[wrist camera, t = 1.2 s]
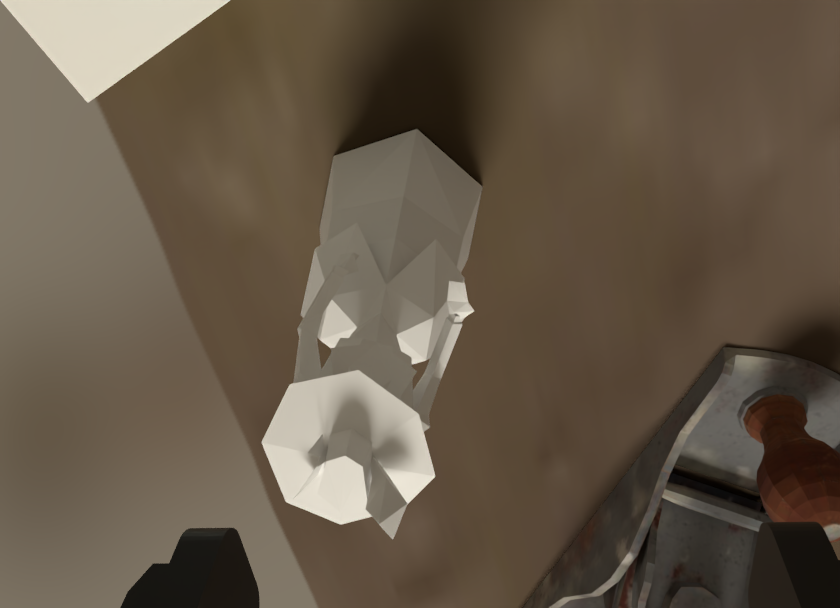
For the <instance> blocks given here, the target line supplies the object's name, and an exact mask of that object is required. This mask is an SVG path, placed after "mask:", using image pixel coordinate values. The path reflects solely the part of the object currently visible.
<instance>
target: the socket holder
mask: <svg viewBox="0 0 840 608" xmlns="http://www.w3.org/2000/svg"><path fill="white" fill-rule="evenodd" d="M0 1H1V2H2V3H3V4H4V5H5V6H6V8H7V9H8V10H9V11H10V12H11V14H12V15H13V16H14V17H15V18H16V19H17V21H18V22H19V23H20V24H21V25H22V26H23V27H24V29H25V30H26V31H27V32H28V33H29V35H30V36H31V37H32V38H33V39H34V40H35V42H36V43H37V44H38V45H39V46H40V47H41V48H42V50H43V51H44V52H45V53H46V55H47V56H48V57H49V58H50V59H51V60H52V61H53V63H54V64H55V65H56V66H57V67H58V68H59V70H60V71H61V72H62V73H63V74H64V76H65V77H66V78H67V79H68V80H69V81H70V83H71V84H72V85H73V86H74V87H75V88H76V90H77V91H78V92H79V93H80V94H81V95H82V97H83V98H84V99H85V100H86V101H87V102H90V101H91V100H92V99H94V98H95V97H97V96H98V95H99V94H101V93H102V92H104V91H105V90H106V89H108V88H109V87H111V86H112V85H113V84H115V83H116V82H117V81H119V80H120V79H122V78H123V77H124V76H126V75H127V74H129V73H130V72H131V71H133V70H134V69H136V68H137V67H138V66H140V65H141V64H143V63H144V62H145V61H147V60H148V59H149V58H151V57H152V56H154V55H155V54H156V53H158V52H159V51H161V50H162V49H163V48H165V47H166V46H168V45H169V44H170V43H172V42H173V41H174V40H176V39H177V38H179V37H180V36H181V35H183V34H184V33H186V32H187V31H188V30H190V29H191V28H193V27H194V26H195V25H197V24H198V23H199V22H201V21H202V20H204V19H205V18H206V17H208V16H209V15H211V14H212V13H213V12H215V11H216V10H218V9H219V8H220V7H222V6H223V5H224V4H226V3H227V2H229V1H230V0H0Z"/></svg>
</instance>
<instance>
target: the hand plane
mask: <svg viewBox="0 0 840 608" xmlns="http://www.w3.org/2000/svg"><path fill="white" fill-rule="evenodd" d="M675 464H676V465H678V466H681V467H684V468H687V469H690V470H693V471H696V472H699V473H702V474H705V475H707V476H710V477H713V478H716V479H719V480H722V481H725V482H728V483H731V484H734V485H736V486H739V487H742V488H745V489H748V490H751V491H754V492H757V493H760V496H761V500H762V503H763V506H764V507H763V509H762V510H761V511H760V509H761V504H762V503H759V502H756V501H753V500H750V499H747V498H744V497H741V496H739V495H736V494H733V493H730V492H727V491H724V490H721V489H718V488H715V487H712V486H709V485H706V484H703V483H700V482H697V481H694V480H691V479H688V478H685V477H682V476H680V475H677V474H674V473H671V471H672V469H673V467H674V465H675ZM763 522H818V523H819V524H820V525H821V526H822V527H823V529H824V530H825V532H826V534H827V536H828V539H829V541H830V543H831V542H836V541H838V540H840V375H839V374H837V373H835V372H833V371H831V370H829V369H827V368H825V367H823V366H820V365H818V364H816V363H814V362H812V361H808V360H805V359H801V358H798V357H795V356H791V355H787V354H782V353H776V352H770V351H765V350H756V349H744V348H730V347H723V348H722V350H721V351H720V352H719V354H718V355H717V356H716V357H715V359H714V360H713V361H712V363H711V364H710V365H709V367H708V368H707V369H706V370H705V372H704V373H703V374H702V376H701V377H700V378H699V379H698V381H697V382H696V383H695V385H694V386H693V387H692V389H691V390H690V391H689V392H688V394H687V395H686V396H685V398H684V399H683V400H682V402H681V403H680V404H679V405H678V407H677V408H676V409H675V411H674V412H673V413H672V414H671V416H670V417H669V418H668V420H667V421H666V422H665V424H664V425H663V426H662V427H661V429H660V430H659V431H658V433H657V434H656V435H655V437H654V438H653V439H652V440H651V442H650V443H649V444H648V446H647V447H646V448H645V449H644V451H643V452H642V453H641V455H640V456H639V457H638V459H637V460H636V461H635V462H634V464H633V465H632V466H631V468H630V469H629V470H628V472H627V473H626V474H625V475H624V477H623V478H622V479H621V481H620V482H619V483H618V484H617V486H616V487H615V488H614V490H613V491H612V492H611V494H610V495H609V496H608V497H607V499H606V500H605V501H604V503H603V504H602V505H601V507H600V508H599V509H598V510H597V512H596V513H595V514H594V516H593V517H592V518H591V519H590V521H589V522H588V523H587V525H586V526H585V527H584V529H583V530H582V531H581V532H580V534H579V535H578V536H577V538H576V539H575V540H574V542H573V543H572V544H571V545H570V547H569V548H568V549H567V551H566V552H565V553H564V555H563V556H562V557H561V558H560V560H559V561H558V562H557V564H556V565H555V566H554V567H553V569H552V570H551V571H550V573H549V574H548V575H547V577H546V578H545V579H544V580H543V582H542V583H541V584H540V586H539V587H538V588H537V590H536V591H535V592H534V593H533V595H532V596H531V597H530V599H529V600H528V601H527V602H526V604H525V605H524V606H523V608H749V603H748V587H749V580H750V575H751V570H752V564H753V559H754V553H755V548H756V543H757V537H758V532H759V528H760V525H761V524H762V523H763Z"/></svg>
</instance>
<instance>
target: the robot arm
mask: <svg viewBox="0 0 840 608" xmlns="http://www.w3.org/2000/svg"><path fill="white" fill-rule="evenodd" d="M748 603H749V608H840V560H838V558H837V556H836V554H835V552H834V550H833V547H832V545H831V543H830V541H829V539H828V536H827V534H826V532H825V530H824V529H823V527H822V526H821V525H820V524H819V523H818V522H763V523H762V524H761V525H760V528H759V532H758V537H757V543H756V548H755V553H754V559H753V564H752V570H751V575H750V580H749V587H748ZM121 608H259V591H258V587H257V583H256V580H255V578H254V575H253V572H252V569H251V567H250V564H249V561H248V558H247V556H246V553H245V550H244V547H243V544H242V542H241V539H240V536H239V534H238V532H237V530H236V529H234V528H190V529H188V530H186V531H185V532H184V533H183V534H182V536H181V537H180V539H179V542H178V544H177V546H176V549H175V551H174V553H173V556H172V559H171V560H170V563H169V564H153V565H152V566H151V567H150V568H149V569H148V570H147V571H146V572H145V573H144V574H143V576H142V577H141V578H140V579H139V580H138V581H137V582H136V583H135V585H134V586H133V587H132V588H131V589H130V590H129V591H128V593H127V595H126V597H125V599H124V601H123V603H122V606H121Z"/></svg>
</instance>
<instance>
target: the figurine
mask: <svg viewBox="0 0 840 608" xmlns="http://www.w3.org/2000/svg"><path fill="white" fill-rule="evenodd" d="M481 191H482V186H481V185H480V184H479V183H478V182H476V181H475V180H474V179H473V178H472V177H471V176H470V175H469V174H467V173H466V172H465V171H464V170H463V169H462V168H461V167H460V166H458V165H457V164H456V163H455V162H454V161H453V160H452V159H451V158H449V157H448V156H447V155H446V154H445V153H444V152H443V151H441V150H440V149H439V148H438V147H437V146H436V145H435V144H434V143H432V142H431V141H430V140H429V139H428V138H427V137H426V136H425V135H423V134H422V133H421V132H420V131H419V130H418V129H415V130H412V131H408V132H405V133H402V134H399V135H396V136H393V137H390V138H387V139H384V140H381V141H378V142H375V143H372V144H369V145H366V146H363V147H360V148H357V149H354V150H351V151H348V152H344V153H341V154H338V155H335V156H334V157H333V162H332V167H331V172H330V178H329V183H328V188H327V193H326V198H325V203H324V208H323V213H322V218H321V224H320V241H321V245H320V246H319V247H317V248H315V251H314V256H313V261H312V265H311V270H310V274H309V279H308V283H307V288H306V292H305V297H304V302H303V306H302V311H301V315H302V317H303V320H302V322H301V323H300V325H299V327H298V333H299V344H298V352H297V360H296V368H295V375H294V383H293V384H290V385H289V387H288V389H287V391H286V393H285V395H284V397H283V399H282V401H281V403H280V405H279V408H278V410H277V412H276V414H275V416H274V418H273V420H272V422H271V424H270V426H269V428H268V430H267V432H266V434H265V436H264V438H263V440H262V445H263V447H264V450H265V452H266V455H267V457H268V459H269V462H270V464H271V467H272V469H273V472H274V474H275V476H276V479H277V481H278V484H279V486H280V489H281V491H282V493H283V496H284V498H285V501H286V502H287V503H289V504H292V505H294V506H297V507H299V508H302V509H304V510H307V511H309V512H311V513H314V514H316V515H319V516H321V517H324V518H326V519H329V520H331V521H333V522H336V523H338V524H345V523H349V522H353V521H357V520H360V519H364V518H368V517H373V518H374V519H375V520H376V521H377V523H378V524H379V525H380V526H381V527H382V528H383V529H384V530H385V532H386V533H387V534H388V535H389V536H390V537H391V538H392V540H393V538H394V536H395V533H396V531H397V528H398V526H399V523H400V521H401V518H402V516H403V513H404V511H405V509H406V506H407V504H408V503H409V502H410V501H411V500H412V499H413V498H414V497H415V496H416V495H417V494H418V493H419V492H420V491H421V490H422V489H423V488H424V487H425V486H426V485H427V484H428V483H429V482H430V481H431V480H432V479H433V478H434V477H435V473H434V469H433V466H432V462H431V458H430V454H429V451H428V447H427V443H426V439H425V435H424V431H425V430H427V429H428V428H430V422H429V412H430V409H431V406H432V403H433V401H434V398H435V395H436V392H437V389H438V386H439V383H440V380H441V377H442V375H443V372H444V370H445V367H446V365H447V362H448V360H449V357H450V355H451V352H452V350H453V347H454V345H455V342H456V340H457V337H458V335H459V332H460V330H461V327H462V325H463V324H462V323H461V322H462V321H463V319H464V318H465V317H466V316H468V315H469V314H471V313H472V312H474V310H473V308H472V307H471V305H470V304H469V302H468V299H467V293H466V287H465V283H464V277H463V276H462V274H461V271H462V269H463V267H464V265H465V263H466V261H467V259H468V256H469V251H470V246H471V241H472V236H473V231H474V226H475V221H476V216H477V211H478V206H479V201H480V196H481ZM317 337H318V338H319V339H320V340H321V341H322V342H323V343H325V344H326V345H327V346H328V347H330V348H331V355H330V356H329V358H328V360H327V361H326V363H325V365H324V367H323V368H322V370H321V365H320V358H319V351H318V343H317ZM429 358H430V361H429V363H428V366H427V368H426V371H425V373H424V374H423V376H422V377H421V379H420V381H419V382H418V384H417V385H416V387H415V388H414V390H413V387H412V378H413V377H414V375H415V374H416V372H417V371H416V370H414V369H413V368H412V364H415V363H419V362H422V361H426V360H427V359H429Z"/></svg>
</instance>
